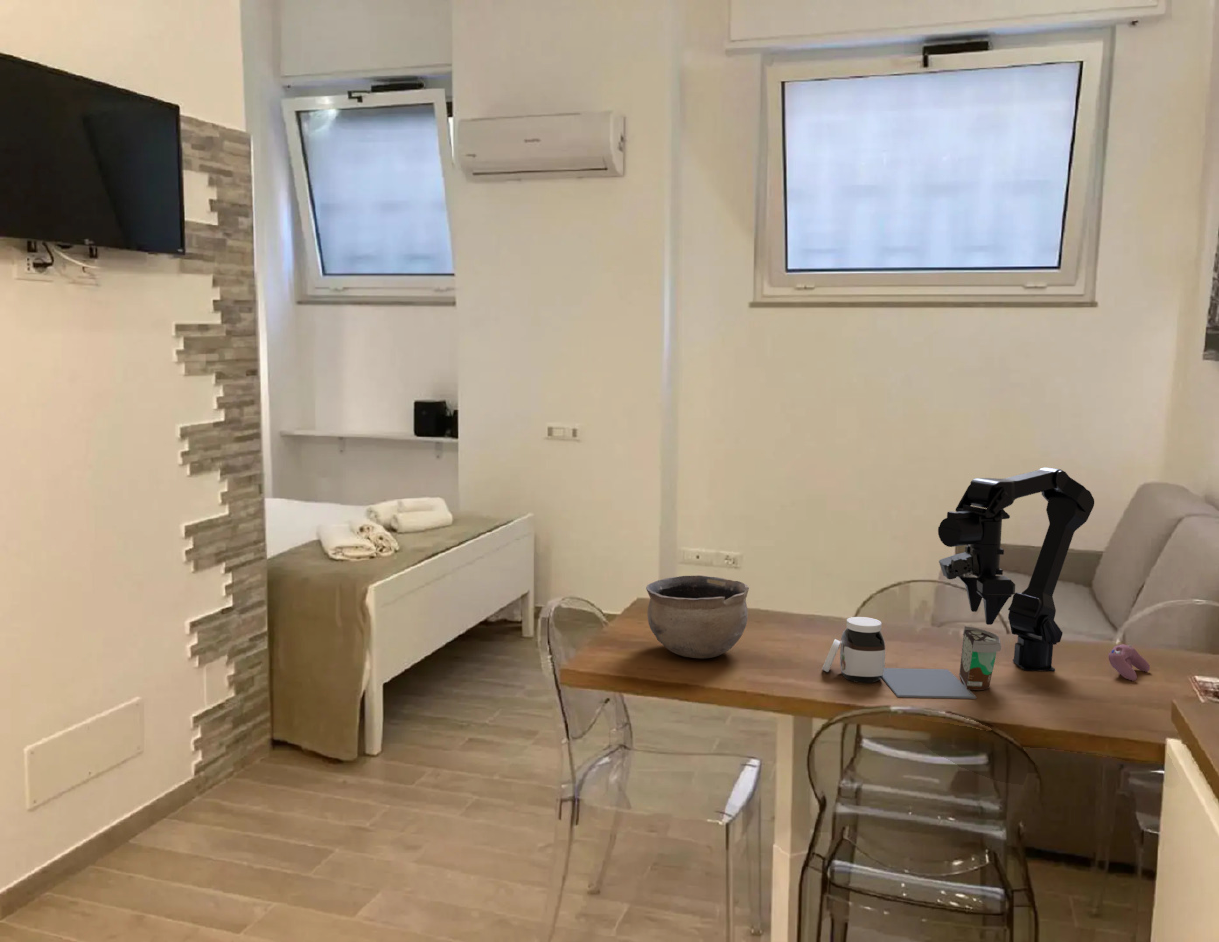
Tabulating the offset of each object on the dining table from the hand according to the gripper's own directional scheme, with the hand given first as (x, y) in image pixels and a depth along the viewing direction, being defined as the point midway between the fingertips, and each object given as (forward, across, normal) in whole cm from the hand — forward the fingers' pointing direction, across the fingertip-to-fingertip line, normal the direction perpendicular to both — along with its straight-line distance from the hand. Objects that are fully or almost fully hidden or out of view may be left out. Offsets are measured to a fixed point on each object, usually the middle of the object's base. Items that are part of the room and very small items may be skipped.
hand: (981, 617), depth 196 cm
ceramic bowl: (+12, -10, -57) cm, 59 cm away
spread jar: (+12, +2, -26) cm, 29 cm away
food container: (+12, +4, -1) cm, 13 cm away
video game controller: (+14, -6, +32) cm, 36 cm away
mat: (+12, +5, -12) cm, 18 cm away
